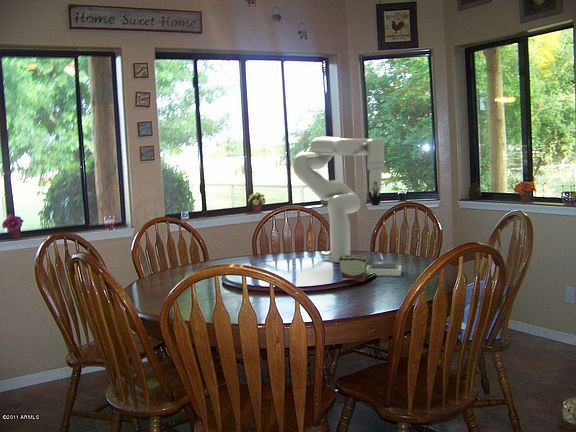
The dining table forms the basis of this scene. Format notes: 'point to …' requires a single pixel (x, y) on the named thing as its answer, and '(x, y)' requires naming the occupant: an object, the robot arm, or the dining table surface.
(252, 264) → the dining table surface
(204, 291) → the dining table surface
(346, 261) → the food container
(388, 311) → the dining table surface
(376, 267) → the gray cylinder
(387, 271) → the sage trough
